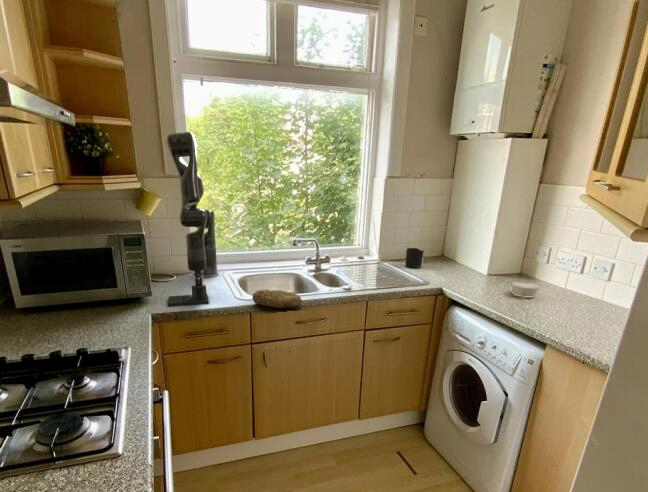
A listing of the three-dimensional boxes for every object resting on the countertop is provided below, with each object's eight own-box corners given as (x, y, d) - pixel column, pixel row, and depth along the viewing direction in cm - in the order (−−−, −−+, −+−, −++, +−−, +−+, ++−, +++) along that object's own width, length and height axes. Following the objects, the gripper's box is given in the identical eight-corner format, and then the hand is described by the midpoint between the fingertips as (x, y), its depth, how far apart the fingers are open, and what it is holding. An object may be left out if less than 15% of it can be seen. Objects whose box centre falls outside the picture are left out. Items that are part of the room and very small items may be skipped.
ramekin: (530, 292, 199) (533, 281, 197) (540, 300, 189) (543, 289, 187) (506, 291, 200) (508, 280, 198) (514, 298, 190) (517, 287, 188)
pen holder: (404, 268, 238) (406, 250, 234) (405, 264, 246) (406, 247, 243) (421, 269, 236) (423, 252, 232) (421, 265, 244) (423, 248, 240)
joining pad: (184, 297, 183) (182, 283, 181) (207, 296, 186) (206, 282, 183) (184, 305, 174) (182, 290, 172) (208, 303, 177) (207, 288, 175)
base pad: (169, 298, 182) (168, 296, 181) (190, 297, 184) (190, 294, 184) (168, 306, 173) (168, 303, 172) (191, 304, 175) (190, 302, 175)
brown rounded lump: (250, 308, 176) (285, 310, 163) (249, 289, 175) (284, 289, 162) (272, 306, 186) (306, 307, 173) (271, 288, 185) (306, 288, 172)
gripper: (187, 254, 179) (190, 292, 185) (187, 262, 166) (191, 302, 173) (204, 254, 181) (207, 291, 187) (206, 261, 168) (209, 301, 175)
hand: (199, 296), depth 180 cm, fingers open, 5 cm apart
